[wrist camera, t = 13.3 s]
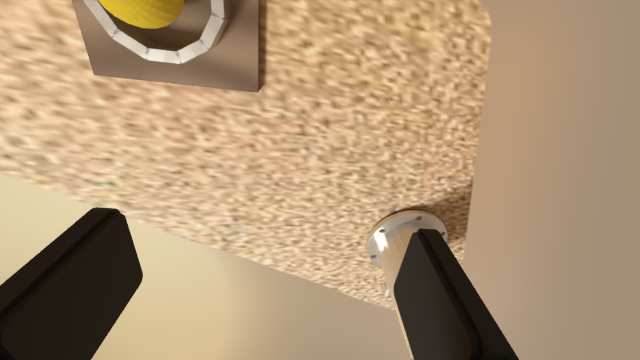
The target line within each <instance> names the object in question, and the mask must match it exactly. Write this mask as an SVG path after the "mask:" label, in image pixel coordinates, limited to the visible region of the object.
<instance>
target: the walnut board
mask: <svg viewBox="0 0 640 360" xmlns="http://www.w3.org/2000/svg"><path fill="white" fill-rule="evenodd" d="M72 3H73V6H74V9H75V13H76V16H77V19H78V23H79V26H80V29H81V33H82V36H83V39H84V43H85V46H86V49H87V53H88V56H89V60H90V63H91V66H92V70H93V73H94V75H99V76H108V77H118V78H127V79H136V80H145V81H155V82H164V83H173V84H182V85H192V86H201V87H210V88H220V89H229V90H238V91H247V92H257V93H258V92H259V30H260V0H230V14H231V17H230V21H229V23H228V25H227V27H226V29H225V31H224V32H223V34H222V36H221V38H220V40H219V42H218V44H217V46H215V48H213V49H211V50H209V51H207V52H205V53H203V54H201V55H199V56H197V57H195V58H193V59H191V60H189V61H187V62H185V63H181V64H176V63H168V62H159V61H151V60H147V59H144V58H143V57H141V56H139V55H138V54H136V53H135V52H133V51H131V50H130V49H128V48H127V47H125V46H123V45H122V44H120V43H119V42H117V41H116V40H114V39H112V38H113V37H110V35H109V34H108V33H107V31H106V30H105V29H104V28H103V26H102V25H101V24H100V22H99V21H98V20H97V18H96V17H95V16H94V14H93V13H92V12H91V10H90V9H89V8H88V6H87V5H86V4H85V2H84V0H72ZM211 14H212V10H211V0H184V4H183V8H182V11H181V14H180V15H179V16H178V18H177V19H176V20H175V21H174V22H172V23H171V24H169V25H168V26H165V27H161V28H157V29H151V28H141V27H137V26H134V25H132V26H133V27H134V28H135V29H136V30H138V31H140V32H141V33H143V34H144V35H146V36H147V37H149V38H150V39H152V40H153V41H155V42H156V43H158V44H159V45H164V46H172V47H181V48H184V47H186V46H188V45H190V44H192V43H194V42H196V41H198V40H200V38H201V35H202V33H203V31H204V29H205V27H206V25H207V23H208V21H209V19H210V16H211Z"/></svg>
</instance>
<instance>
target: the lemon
mask: <svg viewBox="0 0 640 360" xmlns="http://www.w3.org/2000/svg"><path fill="white" fill-rule="evenodd" d="M98 1H99V2H100V3H101V4H102V6H103V7H104V8H105V9H107V10H108V11H109V12H110V13H111V14H113V15H114V16H115V17H117V18H119V19H121V20H122V21H124V22H126V23H128V24H131V25H134V26H137V27H141V28H151V29H157V28H161V27H165V26H168V25H169V24H171V23H172V22H174V21H175V20H176V19H177V18H178V16H179V15H180V14H181V11H182V8H183V4H184V0H98Z"/></svg>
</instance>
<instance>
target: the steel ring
mask: <svg viewBox="0 0 640 360" xmlns="http://www.w3.org/2000/svg"><path fill="white" fill-rule="evenodd" d="M84 2H85V4H86V5H87V6H88V8H89V9H90V10H91V12H92V13H93V14H94V16H95V17H96V18H97V20H98V21H99V22H100V24H101V25H102V26H103V28H104V29H105V30H106V31H107V33H108V34H109V35H110V37H113V38H112V39H114V40H116V41H117V42H119V43H120V44H122V45H123V46H125V47H127V48H128V49H130V50H131V51H133V52H135V53H136V54H138V55H139V56H141V57H143V58H144V59H147V60H151V61H159V62H168V63H176V64H181V63H185V62H187V61H189V60H191V59H193V58H195V57H197V56H199V55H201V54H203V53H205V52H207V51H209V50H211V49H213V48H215V46H217V44H218V42H219V40H220V38H221V36H222V34H223V32H224V31H225V29H226V27H227V25H228V23H229V21H230V17H231V14H230V0H211V10H212V14H211V16H210V19H209V21H208V23H207V25H206V27H205V29H204V31H203V33H202V35H201V38H200V40H198V41H196V42H194V43H192V44H190V45H188V46H186V47H184V48H181V47H172V46H164V45H159V44H158V43H156V42H155V41H153V40H152V39H150V38H149V37H147V36H146V35H144V34H143V33H141V32H140V31H138V30H136V29H135V28H134V27H133V26H132V25H131V24H128V23H126V22H124V21H122V20H121V19H119V18H117V17H115V16H114V15H113V14H111V13H110V12H109V11H108V10H107V9H105V8H104V7H103V6H102V4H101V3H100V2H99V1H98V0H84Z"/></svg>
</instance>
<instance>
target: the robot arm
mask: <svg viewBox="0 0 640 360" xmlns="http://www.w3.org/2000/svg"><path fill="white" fill-rule="evenodd" d="M447 238H448V234H447V229H446V227H445V225H444V224H443V222H442V221H441V220H440V219H439V218H438V217H437V216H436V215H434V214H432V213H429V212H426V211H421V210H408V211H403V212H399V213H396V214H393V215H391V216H389V217H387V218H385V219H383V220H382V221H381V222H379V223H378V224H377V225H376V226H375V227H374V228H373V229H372V231H371V232H370V234H369V236H368V238H367V242H366V249H367V253H368V257H369V258H370V260H371V261H372V263H373V264H374V265H376V266H377V267H379V268H381V269H383V272H384V275H385V280H386V282H385V284H384V286H383V289H382V293H383V294H384V295H385V296H387V297H392V300H393V303H394V307H395V310H396V313H397V316H398V319H399V322H400V326H401V329H402V332H403V335H404V338H405V341H406V345H407V348H408V351H409V354H410V357H411V360H519V359H518V357H517V356H516V354H515V352H514V351H513V349H512V348H511V346H510V344H509V343H508V341H507V340H506V338H505V336H504V335H503V333H502V331H501V330H500V328H499V327H498V325H497V323H496V322H495V320H494V319H493V317H492V316H491V314H490V312H489V311H488V309H487V307H486V306H485V304H484V303H483V301H482V299H481V298H480V296H479V295H478V293H477V291H476V290H475V288H474V287H473V285H472V283H471V282H470V280H469V279H468V277H467V276H466V274H465V272H464V271H463V269H462V268H461V266H460V264H459V263H458V261H457V259H456V258H455V256H454V255H453V253H452V251H451V250H450V248H449V247H448V245H447ZM142 278H143V273H142V269H141V266H140V263H139V260H138V257H137V253H136V250H135V247H134V243H133V240H132V237H131V234H130V231H129V228H128V224H127V221H126V218H125V216H124V215H123V214H121V213H120V211H119V210H118V209H113V208H97V207H96V208H93V209H91V210H90V211H88V212H87V213H86V214H85V215H84V216H82V217H81V218H80V219H79V220H78V221H76V222H75V223H74V224H73V225H72V226H71V227H70V228H68V229H67V230H66V231H65V232H63V233H62V234H61V235H60V236H59V237H57V238H56V239H55V240H54V241H53V242H52V243H50V244H49V245H48V246H47V247H46V248H44V249H43V250H42V251H41V252H40V253H39V254H37V255H36V256H35V257H34V258H33V259H31V260H30V261H29V262H28V263H27V264H25V265H24V266H23V267H22V268H21V269H19V271H17V272H16V273H15V274H14V275H12V276H11V277H10V278H9V279H8V280H6V281H5V282H4V283H3V284H2V285H1V286H0V360H91V359H92V357H93V356H94V354H95V353H96V351H97V350H98V348H99V346H100V345H101V343H102V342H103V340H104V339H105V337H106V336H107V334H108V333H109V331H110V330H111V328H112V327H113V325H114V324H115V322H116V320H117V319H118V318H119V316H120V314H121V313H122V311H123V310H124V308H125V307H126V305H127V304H128V302H129V300H130V299H131V298H132V296H133V295H134V293H135V292H136V290H137V289H138V287H139V285H140V283H141V281H142Z"/></svg>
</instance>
